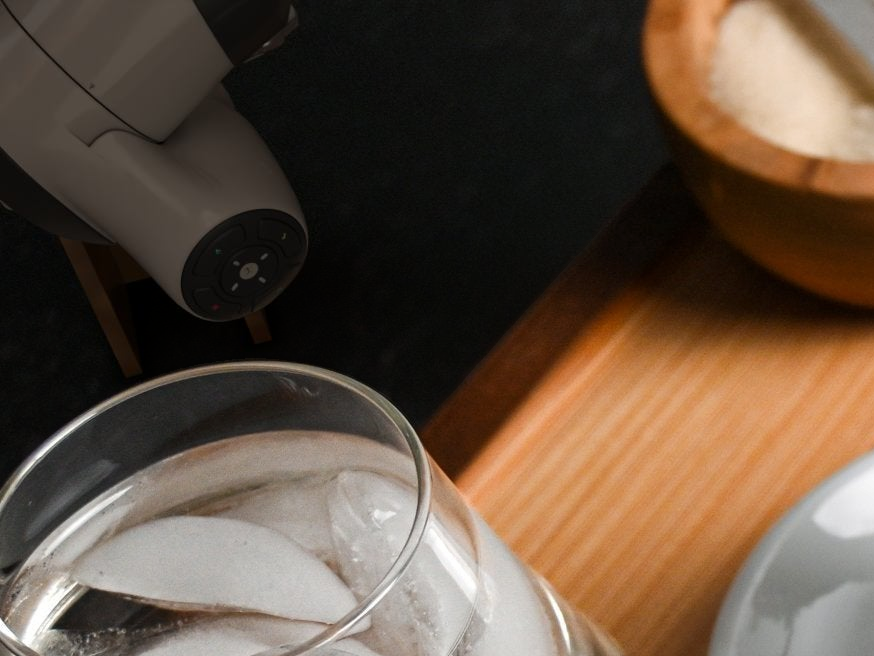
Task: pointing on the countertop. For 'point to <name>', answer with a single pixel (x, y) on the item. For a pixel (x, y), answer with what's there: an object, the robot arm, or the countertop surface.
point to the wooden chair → (124, 297)
